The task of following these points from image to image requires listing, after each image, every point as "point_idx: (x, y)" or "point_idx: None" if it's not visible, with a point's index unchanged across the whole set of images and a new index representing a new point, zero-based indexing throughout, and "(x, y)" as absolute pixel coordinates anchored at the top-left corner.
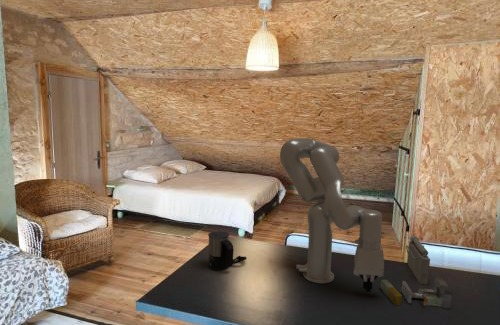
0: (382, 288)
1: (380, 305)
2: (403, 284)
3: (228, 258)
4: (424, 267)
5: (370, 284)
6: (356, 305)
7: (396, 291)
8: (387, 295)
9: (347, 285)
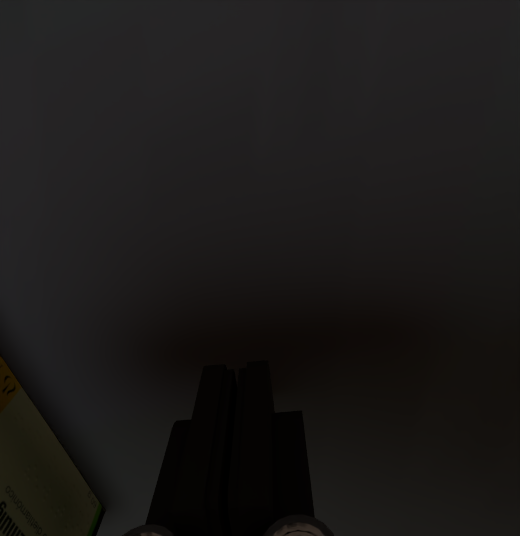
0: (72, 500)
1: (83, 157)
2: None
3: None
4: None
5: (188, 467)
6: (433, 40)
7: None
8: (15, 395)
9: (449, 490)
